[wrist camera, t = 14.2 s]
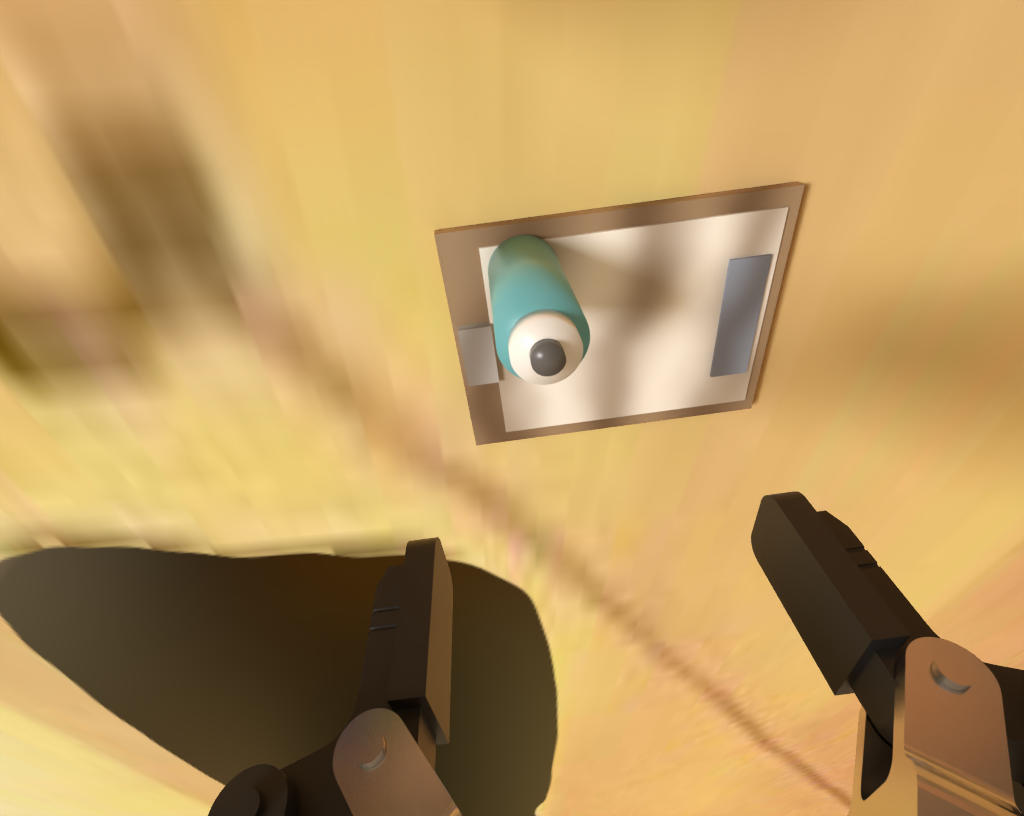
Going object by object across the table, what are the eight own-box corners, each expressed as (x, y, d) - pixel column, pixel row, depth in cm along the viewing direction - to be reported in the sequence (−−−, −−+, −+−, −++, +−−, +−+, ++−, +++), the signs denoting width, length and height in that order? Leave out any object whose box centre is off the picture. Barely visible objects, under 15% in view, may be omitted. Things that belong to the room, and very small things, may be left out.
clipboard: (796, 181, 26) (811, 187, 25) (745, 401, 35) (755, 413, 34) (434, 230, 26) (433, 237, 25) (476, 438, 35) (476, 450, 34)
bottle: (556, 229, 26) (599, 307, 18) (560, 299, 28) (598, 395, 20) (483, 239, 26) (491, 322, 18) (492, 308, 28) (504, 408, 20)
